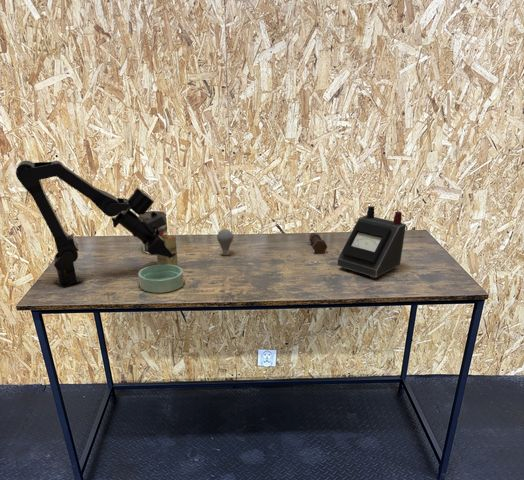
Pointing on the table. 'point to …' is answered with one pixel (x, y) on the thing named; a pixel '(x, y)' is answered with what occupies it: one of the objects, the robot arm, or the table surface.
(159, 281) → the basin
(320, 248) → the bolt
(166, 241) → the shoe polish box
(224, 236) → the light bulb
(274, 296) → the table surface
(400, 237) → the voltmeter
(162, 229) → the coffee can
